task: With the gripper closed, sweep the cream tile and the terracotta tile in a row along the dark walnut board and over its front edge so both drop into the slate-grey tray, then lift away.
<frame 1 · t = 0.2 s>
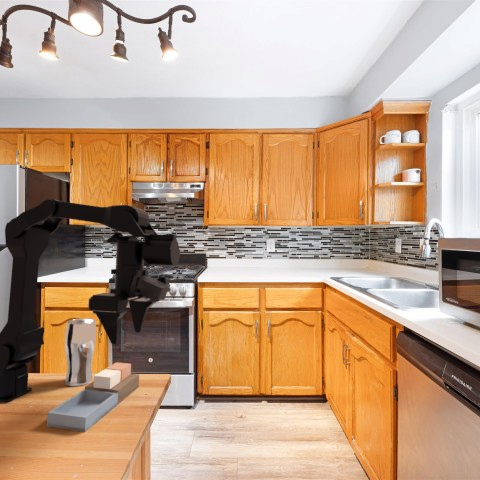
hand: (126, 337, 66), 14 cm above the kitchen island, tool pointing down, fingers open, 9 cm apart
cream tile: (107, 384, 69), point 3 cm above the kitchen island, touching dark walnut board
beer glass: (78, 382, 77), on the kitchen island
terracotta tile: (118, 376, 73), point 3 cm above the kitchen island, touching dark walnut board
slate tray: (84, 414, 62), on the kitchen island
dark walnut board: (112, 393, 71), on the kitchen island
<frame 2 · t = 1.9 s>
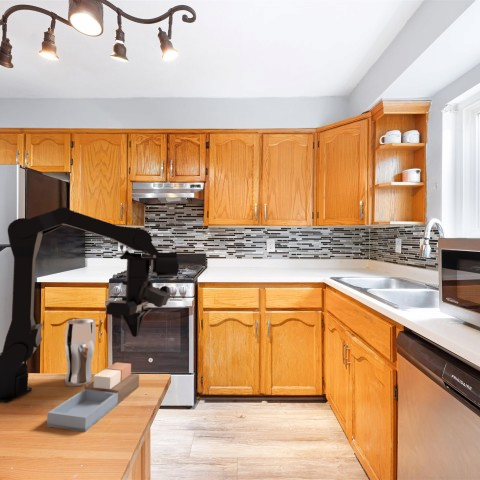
hand: (135, 336, 81), 11 cm above the kitchen island, tool pointing down, fingers closed
nothing on the kitchen island moved.
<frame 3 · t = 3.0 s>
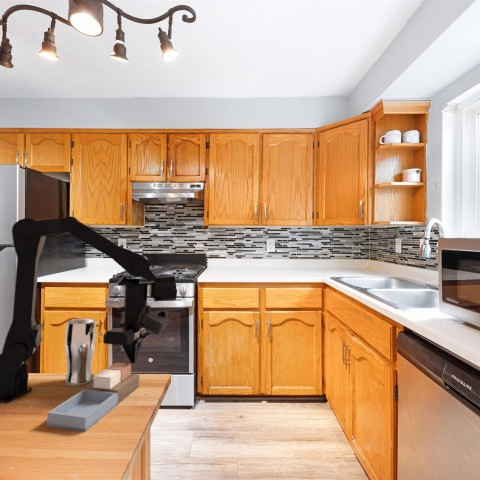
hand: (133, 362, 80), 4 cm above the kitchen island, tool pointing down, fingers closed
nothing on the kitchen island moved.
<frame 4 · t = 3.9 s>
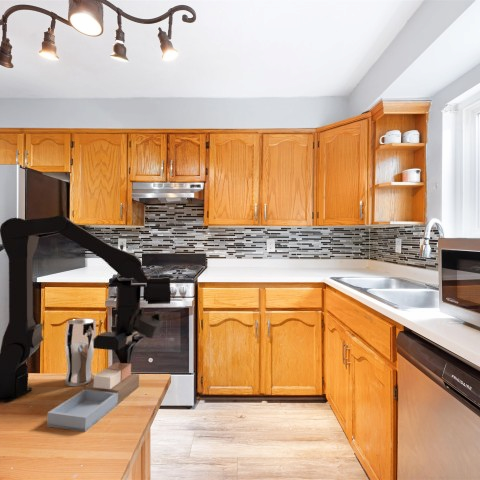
hand: (125, 367, 77), 4 cm above the kitchen island, tool pointing down, fingers closed
terracotta tile: (118, 376, 73), point 3 cm above the kitchen island, touching gripper
everything else where it was.
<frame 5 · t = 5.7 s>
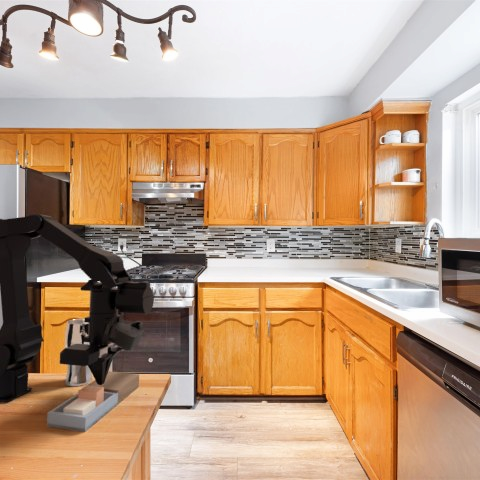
hand: (100, 384, 67), 4 cm above the kitchen island, tool pointing down, fingers closed
cream tile: (80, 404, 60), point 3 cm above the kitchen island, tilted 180°, touching slate tray
terracotta tile: (94, 395, 64), point 3 cm above the kitchen island, tilted 91°, touching slate tray
everything else where it was.
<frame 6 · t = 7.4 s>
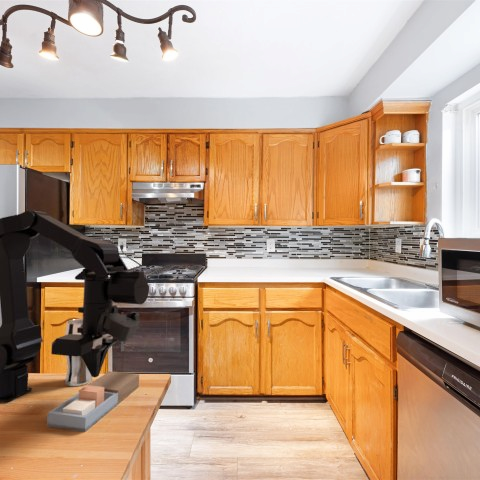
hand: (95, 376, 65), 6 cm above the kitchen island, tool pointing down, fingers closed
nothing on the kitchen island moved.
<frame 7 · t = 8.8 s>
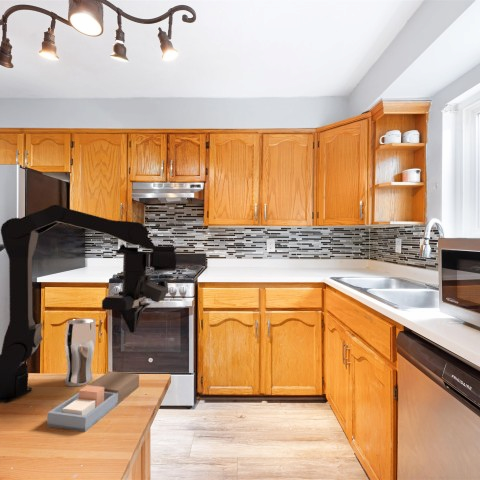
hand: (132, 332, 79), 12 cm above the kitchen island, tool pointing down, fingers closed
nothing on the kitchen island moved.
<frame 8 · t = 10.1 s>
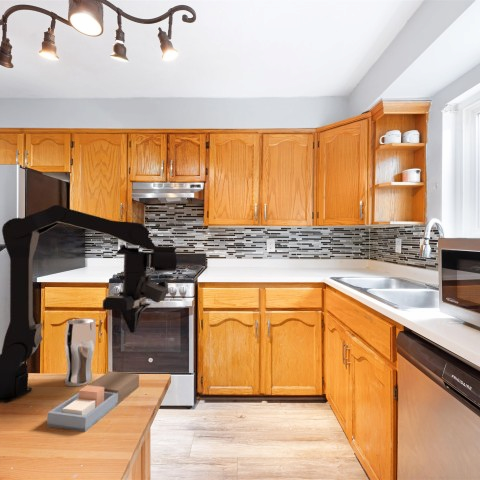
hand: (133, 332, 80), 12 cm above the kitchen island, tool pointing down, fingers closed
nothing on the kitchen island moved.
at the end: cream tile inside the target area (1.4 cm from its centre), point 3.0 cm above the kitchen island; terracotta tile inside the target area (3.5 cm from its centre), point 2.5 cm above the kitchen island; beer glass moved 0.2 cm from its start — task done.
